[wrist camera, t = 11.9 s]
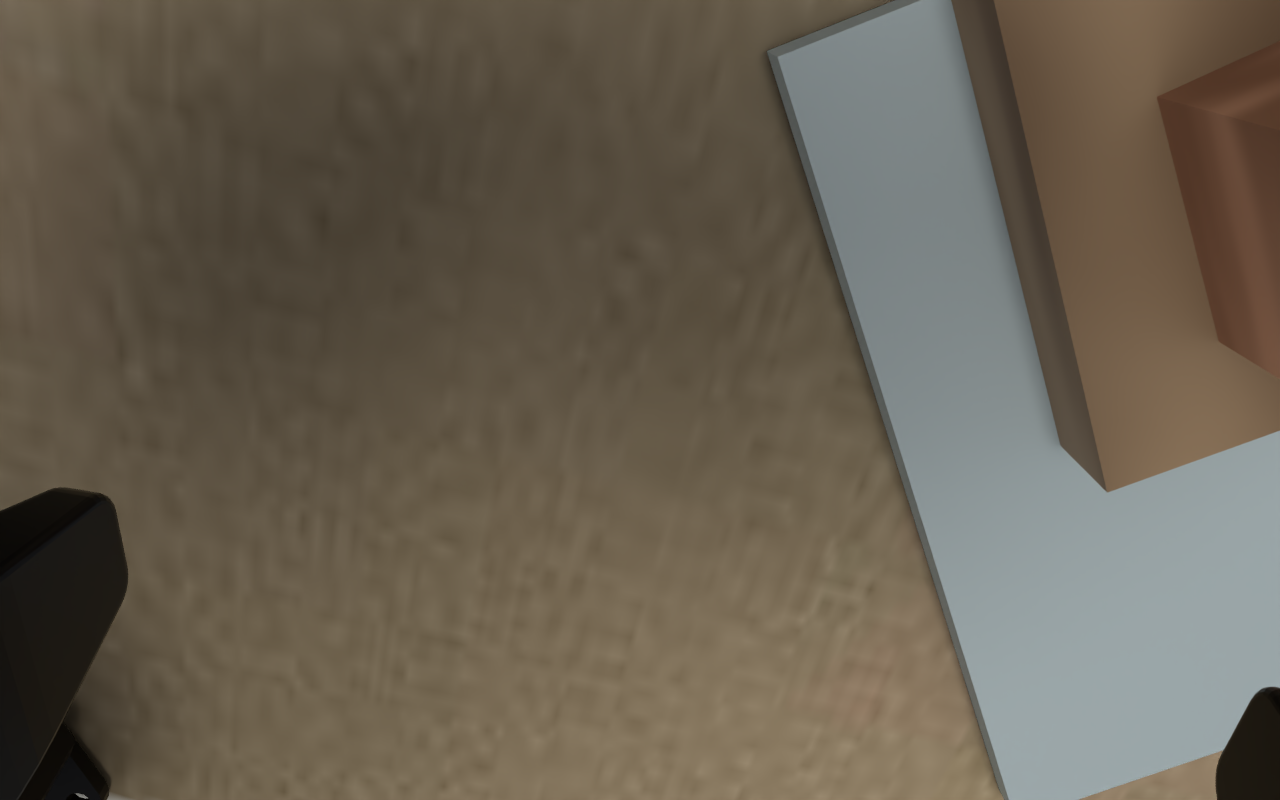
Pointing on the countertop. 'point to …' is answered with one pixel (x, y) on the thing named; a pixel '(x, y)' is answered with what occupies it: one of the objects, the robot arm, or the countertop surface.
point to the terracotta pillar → (1234, 195)
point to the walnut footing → (1114, 221)
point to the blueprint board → (1022, 443)
